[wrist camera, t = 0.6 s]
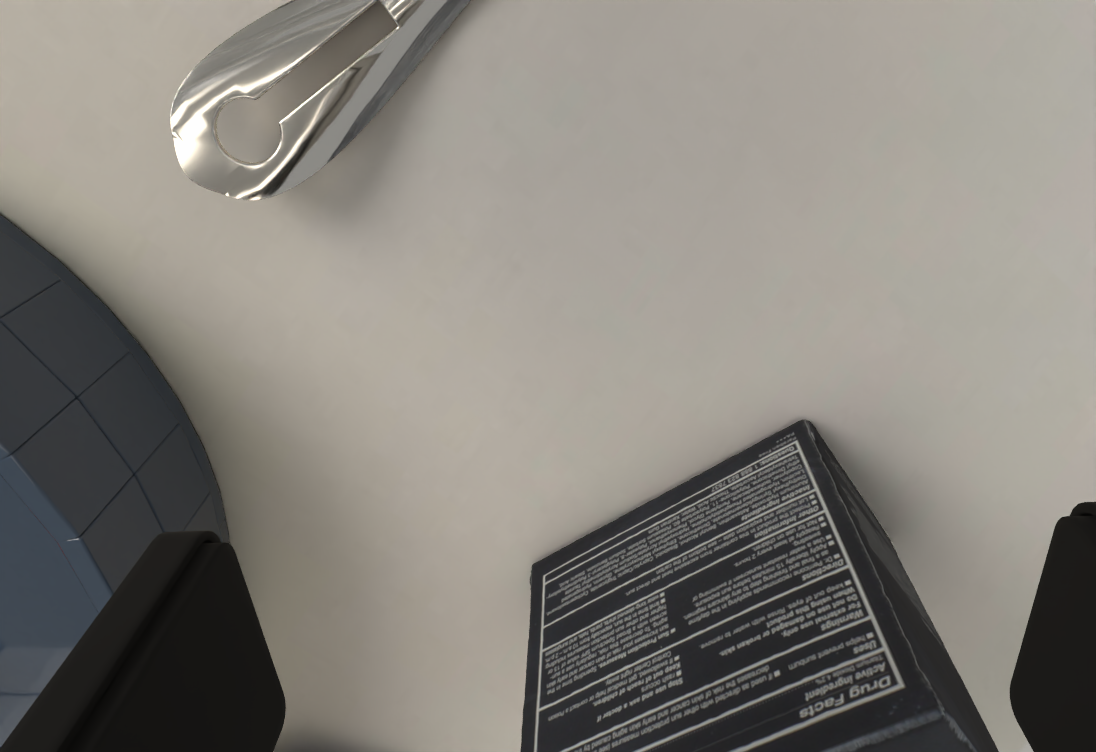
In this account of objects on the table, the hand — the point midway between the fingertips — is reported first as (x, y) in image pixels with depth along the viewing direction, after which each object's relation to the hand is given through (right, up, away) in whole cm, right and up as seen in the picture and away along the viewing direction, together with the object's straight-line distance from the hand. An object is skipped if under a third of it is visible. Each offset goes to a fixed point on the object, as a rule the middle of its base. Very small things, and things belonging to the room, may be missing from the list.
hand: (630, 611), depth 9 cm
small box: (+4, -3, +17) cm, 18 cm away
